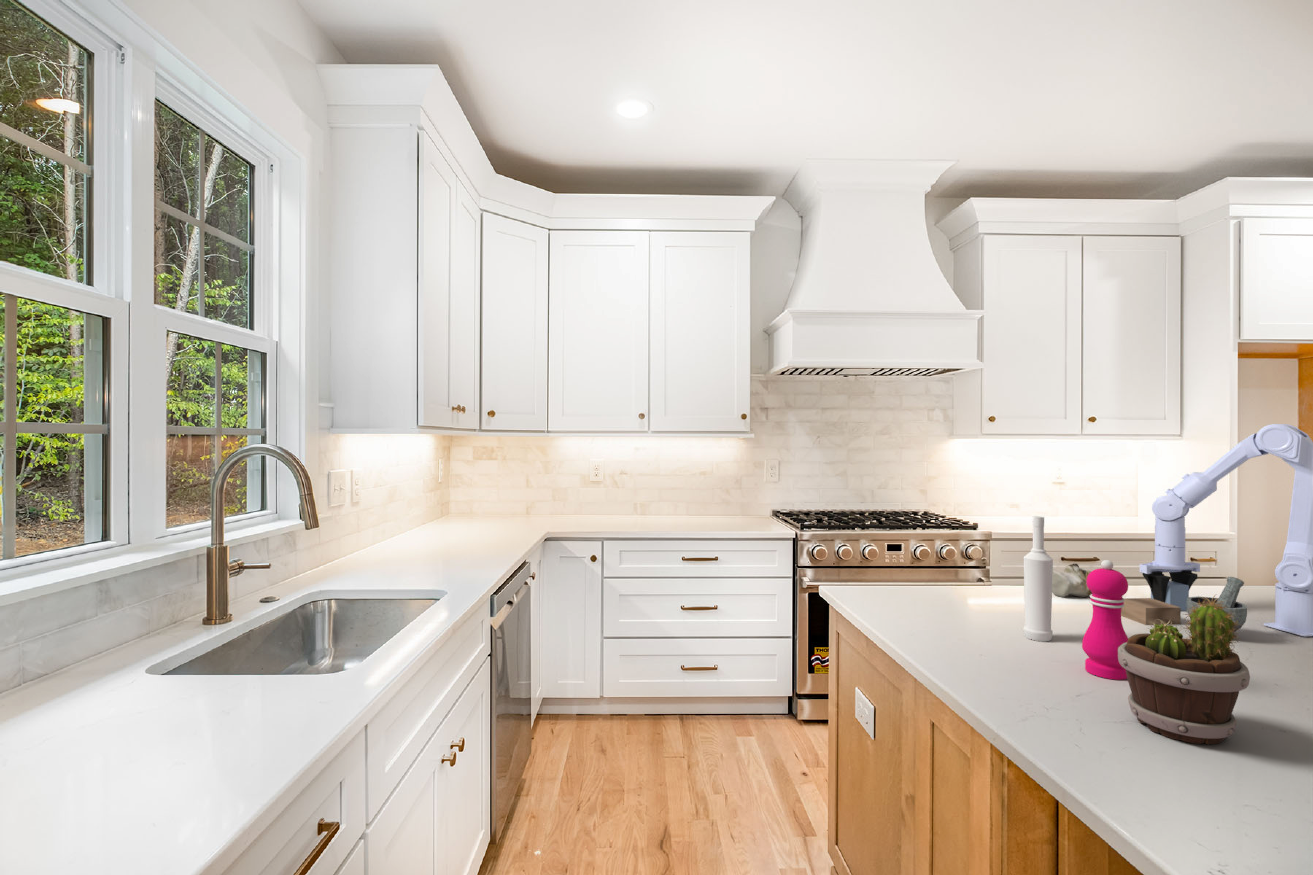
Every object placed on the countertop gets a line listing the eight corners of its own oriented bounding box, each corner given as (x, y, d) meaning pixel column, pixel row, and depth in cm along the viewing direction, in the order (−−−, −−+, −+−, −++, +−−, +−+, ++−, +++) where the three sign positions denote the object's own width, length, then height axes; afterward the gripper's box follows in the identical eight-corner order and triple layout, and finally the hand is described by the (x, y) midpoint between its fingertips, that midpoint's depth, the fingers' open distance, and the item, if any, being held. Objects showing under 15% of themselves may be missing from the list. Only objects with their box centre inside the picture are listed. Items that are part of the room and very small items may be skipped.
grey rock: (1036, 557, 169) (1091, 560, 170) (1034, 590, 170) (1088, 593, 170) (1063, 566, 159) (1121, 569, 159) (1060, 601, 159) (1119, 604, 159)
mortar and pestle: (1221, 644, 127) (1221, 584, 127) (1174, 630, 136) (1174, 574, 136) (1265, 640, 129) (1265, 581, 129) (1216, 626, 138) (1216, 571, 138)
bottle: (1044, 634, 134) (1045, 515, 133) (1057, 642, 128) (1058, 518, 128) (1018, 633, 134) (1019, 514, 134) (1030, 641, 129) (1031, 518, 129)
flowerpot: (1110, 731, 91) (1111, 591, 90) (1124, 697, 102) (1125, 573, 102) (1249, 767, 81) (1251, 610, 81) (1248, 726, 92) (1250, 588, 92)
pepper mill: (1140, 682, 108) (1141, 565, 108) (1093, 679, 109) (1093, 563, 109) (1119, 667, 115) (1119, 556, 115) (1074, 664, 116) (1075, 555, 116)
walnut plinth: (1150, 615, 148) (1150, 597, 148) (1180, 625, 140) (1180, 607, 140) (1117, 615, 148) (1117, 598, 148) (1145, 626, 140) (1145, 608, 140)
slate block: (1168, 604, 156) (1169, 580, 155) (1188, 610, 151) (1188, 585, 151) (1150, 605, 155) (1151, 581, 155) (1170, 611, 150) (1170, 586, 150)
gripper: (1180, 541, 158) (1180, 596, 158) (1128, 543, 155) (1128, 599, 156) (1208, 547, 151) (1208, 604, 151) (1154, 548, 149) (1154, 606, 149)
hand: (1169, 602), depth 153 cm, fingers closed on slate block, 5 cm apart
